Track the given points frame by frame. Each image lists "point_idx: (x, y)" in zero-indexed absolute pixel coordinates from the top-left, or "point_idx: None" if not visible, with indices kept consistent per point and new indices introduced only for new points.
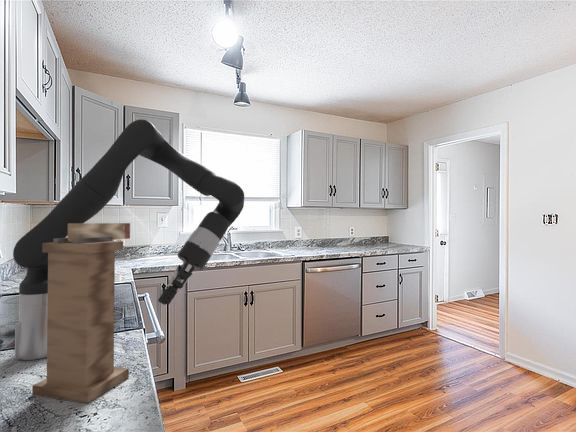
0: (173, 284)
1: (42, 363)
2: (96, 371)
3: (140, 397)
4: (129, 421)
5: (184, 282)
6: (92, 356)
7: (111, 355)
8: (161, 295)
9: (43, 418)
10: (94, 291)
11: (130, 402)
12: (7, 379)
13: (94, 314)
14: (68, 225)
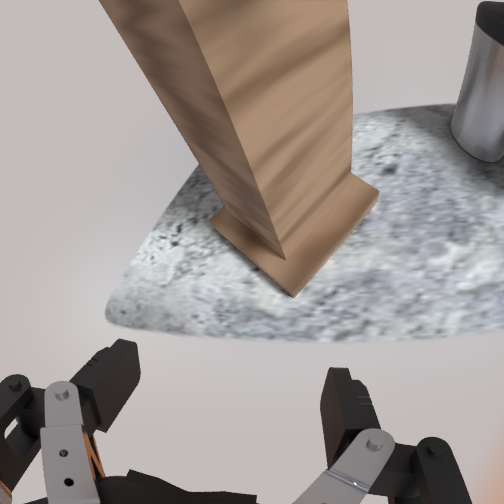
0: (42, 394)
1: (434, 143)
2: (243, 219)
3: (185, 312)
4: (127, 288)
5: (14, 439)
6: (223, 193)
7: (273, 237)
8: (335, 388)
9: (205, 181)
10: (152, 66)
11: (177, 294)
12: (376, 113)
13: (187, 124)
14: None
